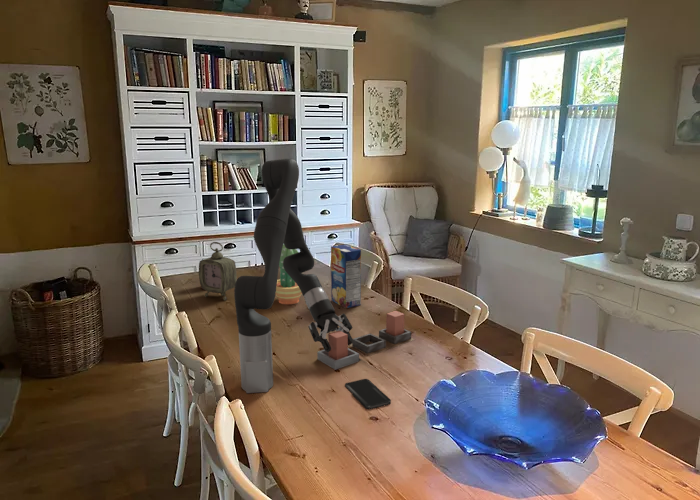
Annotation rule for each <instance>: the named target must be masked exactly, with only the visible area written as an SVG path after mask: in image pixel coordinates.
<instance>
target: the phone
mask: <svg viewBox="0 0 700 500" xmlns="http://www.w3.org/2000/svg"><path fill="white" fill-rule="evenodd" d="M344 386H345V388H347V389H348V391H349V392H350V393H351V395H352V396H353V397H354V399H356V400H357V401H358V403H360V405H361V406H362V407H363V408H365V409H366V410H373V408H374V409H377V407H378V408H381V407H384V405H385V406H389V405H391V401H392V399H390V398H389V397H388V396H387V395H386V394H385V393H384V392H383V391H382V390H381V389H379V388H378V386H376V385H375V384H374V383H373V382H372V381H371V380H370V379H369V378H362V379H358V380H354V381H349V382H346V383H344ZM388 404H389V405H388Z"/></svg>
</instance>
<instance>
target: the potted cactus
mask: <svg viewBox="0 0 700 500" xmlns="http://www.w3.org/2000/svg"><path fill="white" fill-rule="evenodd" d="M298 252H299V251H298V249H287V248H286V247H285V245H284V243H283V248H282V252H281V257H280V262H279V271H280V272H279V279H277V286H276V294H275V297H277V299H278V303H279V304H282V305H295V304H298V303H299V302H300V298H301V297H302V296H303V294H302V292H301V290H300V288H299V286H298V285H297V284H296V283H295V281H294V280H293V279H292V278H291V277H290V276H289V275H288V274H287V272H286V271H285V269H284V267H283V260H284V258H285V257H287V256H289V255H292V254H295V253H298Z"/></svg>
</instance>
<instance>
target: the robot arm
mask: <svg viewBox="0 0 700 500" xmlns="http://www.w3.org/2000/svg"><path fill="white" fill-rule="evenodd" d="M299 177H300V167H299V165H298V162H297V161H296V160H295V159H293V158H281V159H279V158H278V159H273V160H272V159H271V160H266V161H264V162H263V164H262V166H261V178H262V182H263V185H264V188H265V191H266V193H267V196H268V199H269V202H268V203H267V205H265V206H264V207H263V209H262V210H261V211H260V213H259V214H258V216H257V219H256V222H255V227H254V230H253V231H254V232H253V240H254V243H255V245H256V248H257V250H258V251H259V254H260V256H261V259H262V261H263V264H264V273H263V276H261V275H258V276H257V275H241V276H239V277H237V280H236V283H235V287H234V288H233V289H234V290H233V293H234V304H235V314H236V315H235V316H236V322H237V328H238V343H239V345H238V347H239V364H240V365H239V367H240V383H241V385H240V386H241V389H243V390H244V391H245V394H253V393H254V394H255V393H256V394H257V393H267V392H269V390H270V389H271V388H273V386H274V370H273V369H274V368H273V366H274V365H273V344H272V342H273V341H272V338H273V337H272V322H271V319H270V318H268V317H267V316H264V315H262V314H260V313H259V312H257V311H256V310H269V309H271V308H272V306H273V305H274V302H275V299H276V295H275V294H276V286H277V280H278V278H279V270H280V267H279V262H280V257H281V252H282V248H283V244H284V245H285V247H286V248H287V249H297V250H299V251H298V253H295V254H292V255H289V256H287V257H285V258H284V260H283V267H284V269H285V271H286V272H287V274H288V275H289V276H290V277H291V278H292V279H293V280H294V281H295V283H296V284H297V285H298V286H299V288H300V290H301V292H302V296H303V298H304V300H305V301H304V302H305V304H306V306H307V309H308V310H309V311H308V312H310V315H311V316H312V319H313V320H314V321H311V322H310V324H308V326H307V327H308V329H309V332H310V335H311V337H312V340H313V342H315V343H316V342H320V343H321V345H322V348H323V350H325V351H327V352H329V351H330V350H331V346H330V344H329V342H328V338H327V334H329V333H333V332H336V331H341V332H343V333H345V334H347V335H348V346H349V345H351V344H352V343H353V339H354V338H353V337H352V335H351V333H350V331H351V330H352V329H353V325H352V324H351V321H350V320H349V318H348V316H347V315H346V313H341V315H337V314H336V311H335V307H334V306H333V304H332V301H331V300H330V298H329V296H328V294H327V292H326V290H325V289H324V287H323V286H322V284H321V281H320V279H319V278H318V276H317V275H316V274H315V273H308V274H305V272H308V271H310V270H312V269H313V268H314V267H315V258H314V257H313V256H314V255H313V254H312V253H311V251H310V249H309V247H308V245H307V243H306V239H305V237H304V232H303V227H302V223H301V221H300V219H299V217H298V216H297V214H296V213H295V212H294V211H293V209H292V207H291V206H292V203H293V199H294V197H295V196H294V195H295V194H296V190H297V187H298V182H299ZM318 328H319V330H320V332H319V331H318Z"/></svg>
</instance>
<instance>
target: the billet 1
mask: <svg viewBox="0 0 700 500" xmlns="http://www.w3.org/2000/svg"><path fill="white" fill-rule="evenodd" d="M327 334H328V338H327V340H328V342H329V344H330V346H331V350H330V351H329V357H331V358H332V359H334V360H338V359H341V358H344V357H347V356H348V348H349V347H348V346H349V345H348V335H347V334H345V333H343V332H341V331H336V330H335V331H333V332H329V333H327Z"/></svg>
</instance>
